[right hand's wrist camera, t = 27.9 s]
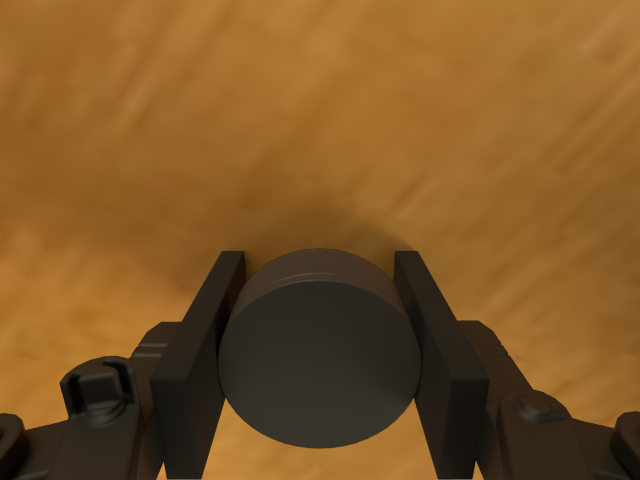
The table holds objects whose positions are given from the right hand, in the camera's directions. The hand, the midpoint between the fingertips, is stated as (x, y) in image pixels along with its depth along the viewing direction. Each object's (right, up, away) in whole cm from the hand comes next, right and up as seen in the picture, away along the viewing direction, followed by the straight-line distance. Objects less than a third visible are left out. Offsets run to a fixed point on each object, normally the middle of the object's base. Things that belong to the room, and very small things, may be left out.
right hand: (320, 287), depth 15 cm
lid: (0, -2, -4) cm, 4 cm away
